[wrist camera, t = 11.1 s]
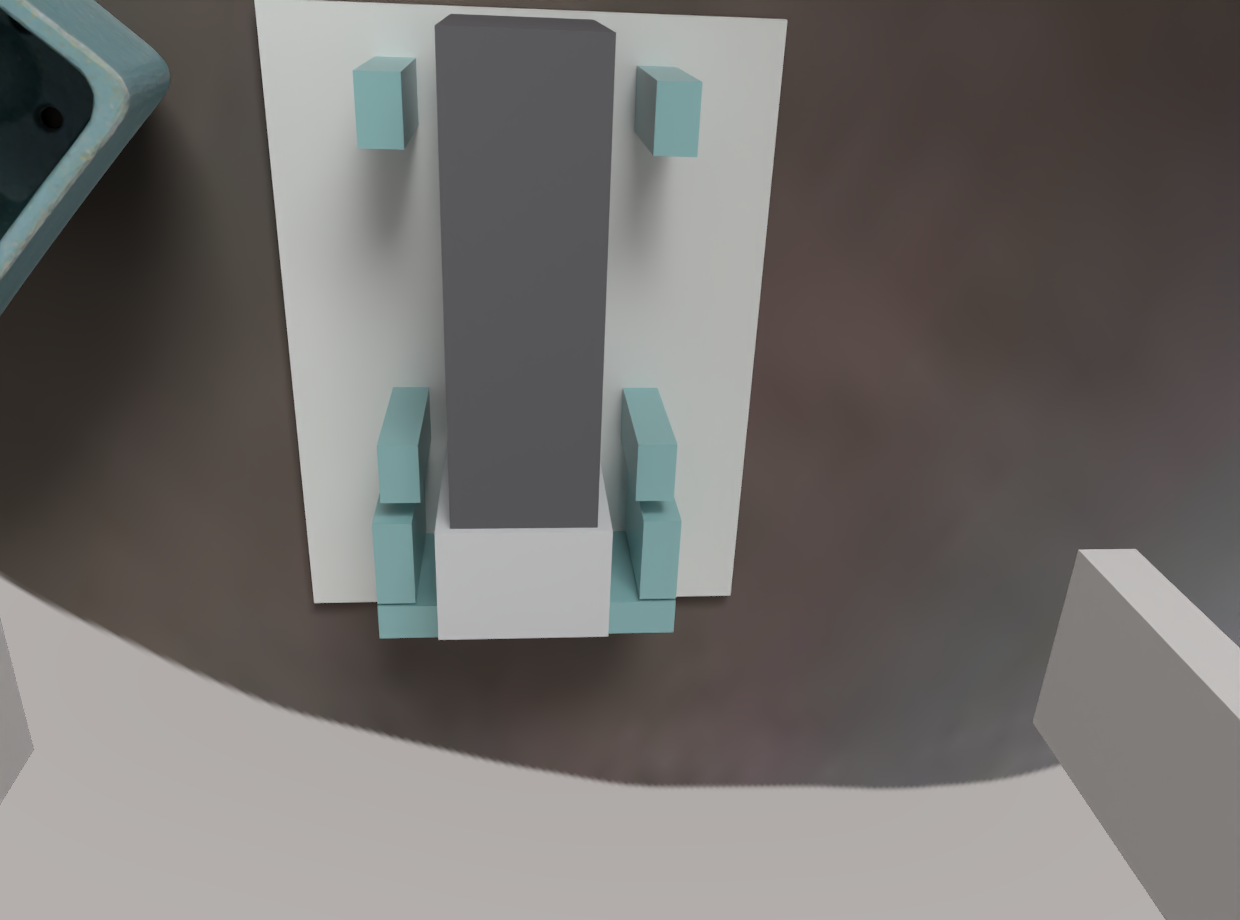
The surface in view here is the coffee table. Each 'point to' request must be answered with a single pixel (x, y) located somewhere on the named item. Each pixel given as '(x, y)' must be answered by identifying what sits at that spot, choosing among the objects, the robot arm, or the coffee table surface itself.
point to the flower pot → (92, 117)
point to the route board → (413, 292)
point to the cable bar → (523, 325)
